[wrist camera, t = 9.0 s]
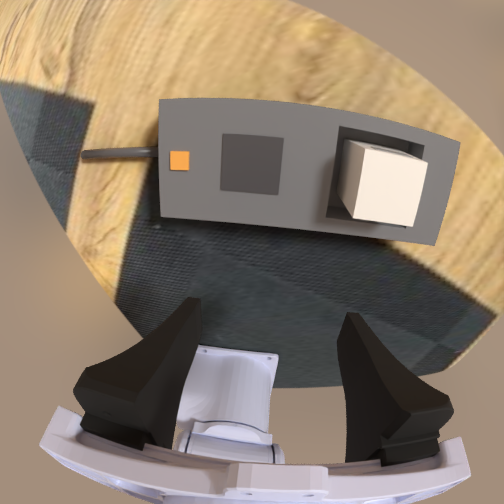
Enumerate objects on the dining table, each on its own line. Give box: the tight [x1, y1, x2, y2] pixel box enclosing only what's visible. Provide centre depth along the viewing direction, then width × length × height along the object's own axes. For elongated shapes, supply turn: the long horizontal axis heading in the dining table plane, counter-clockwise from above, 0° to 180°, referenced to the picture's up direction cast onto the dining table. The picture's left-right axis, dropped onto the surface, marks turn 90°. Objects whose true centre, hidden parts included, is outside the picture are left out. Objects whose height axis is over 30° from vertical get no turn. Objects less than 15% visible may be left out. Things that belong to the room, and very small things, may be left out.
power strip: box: [81, 98, 460, 246], centre depth 18 cm, size 29×8×4 cm, turn 86°
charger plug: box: [337, 138, 428, 227], centre depth 17 cm, size 4×4×5 cm
